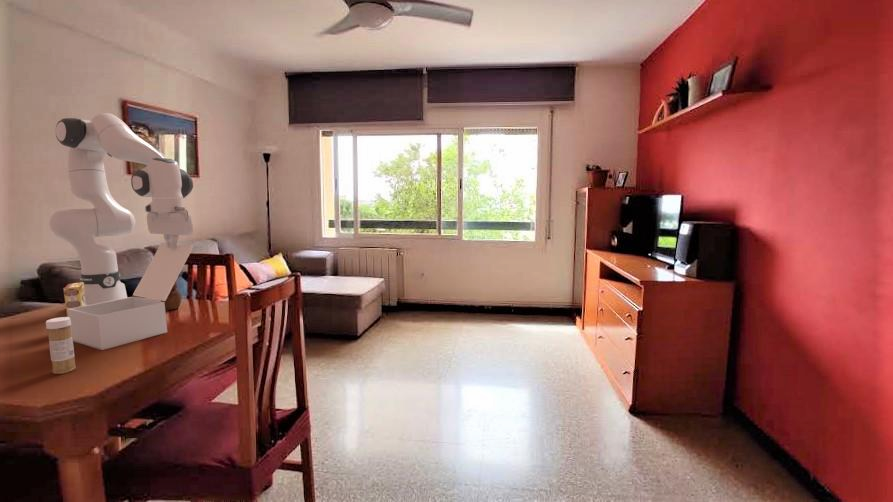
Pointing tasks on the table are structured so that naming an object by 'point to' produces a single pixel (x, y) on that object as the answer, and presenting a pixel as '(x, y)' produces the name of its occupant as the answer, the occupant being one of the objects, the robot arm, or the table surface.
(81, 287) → the candy box
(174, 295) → the wooden figurine
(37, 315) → the table surface
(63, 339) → the sprinkles bottle
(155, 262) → the carton flap
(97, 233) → the robot arm
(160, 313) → the carton
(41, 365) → the table surface
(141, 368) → the table surface
